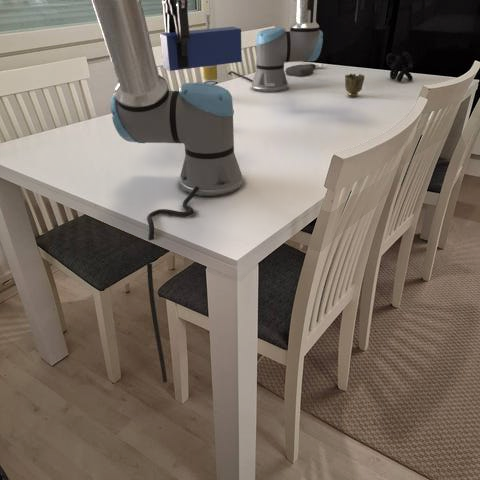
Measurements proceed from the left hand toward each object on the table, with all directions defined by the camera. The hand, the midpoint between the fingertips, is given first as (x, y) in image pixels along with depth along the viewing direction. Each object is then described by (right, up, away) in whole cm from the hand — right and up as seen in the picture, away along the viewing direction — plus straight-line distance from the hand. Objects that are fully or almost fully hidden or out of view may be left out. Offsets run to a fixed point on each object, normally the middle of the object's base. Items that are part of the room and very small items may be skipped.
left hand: (179, 65), depth 128 cm
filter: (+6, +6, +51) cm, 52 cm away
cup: (+62, +7, +50) cm, 80 cm away
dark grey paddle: (+50, +33, +92) cm, 109 cm away
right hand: (+46, +16, +7) cm, 49 cm away
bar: (+7, +1, +3) cm, 7 cm away
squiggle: (+89, +22, +72) cm, 117 cm away
